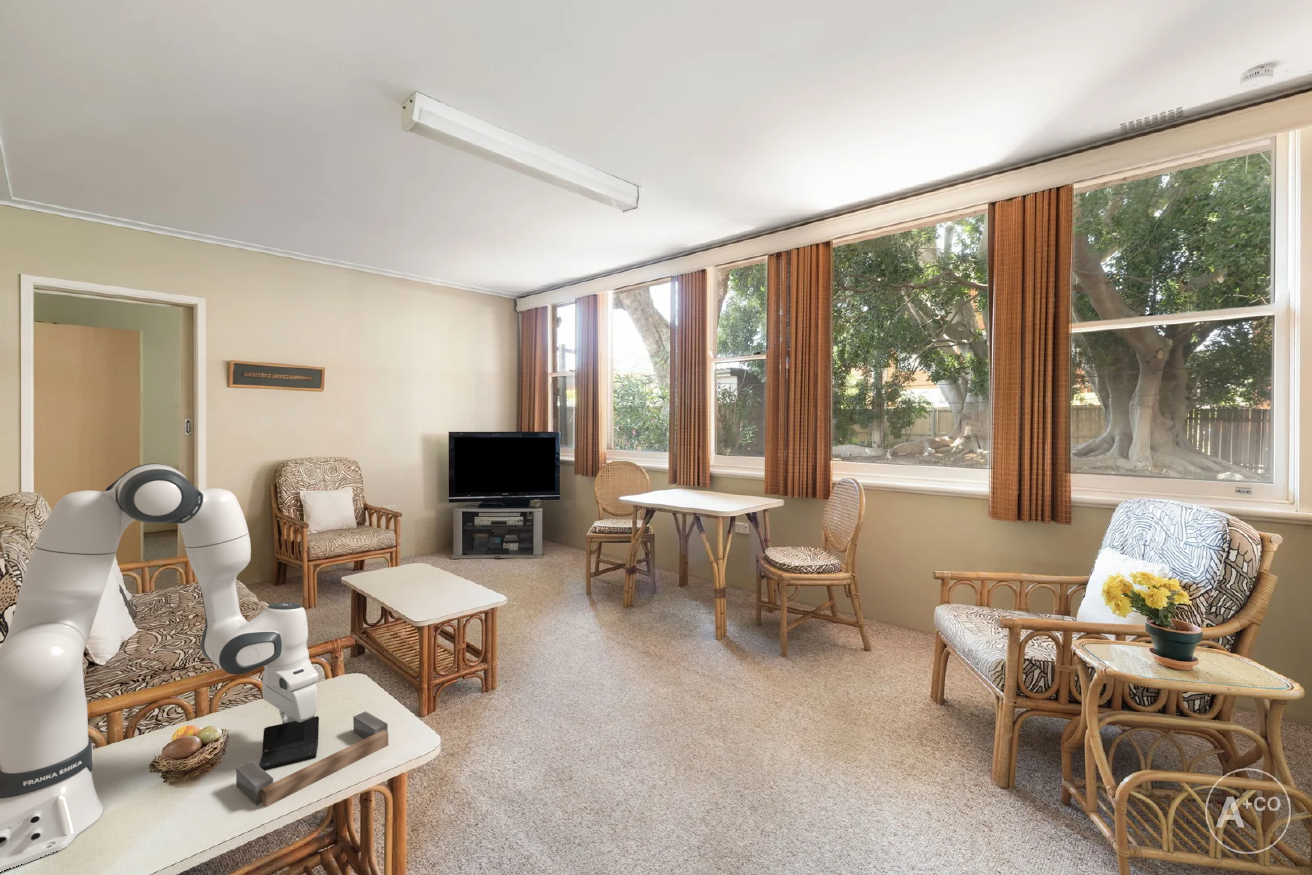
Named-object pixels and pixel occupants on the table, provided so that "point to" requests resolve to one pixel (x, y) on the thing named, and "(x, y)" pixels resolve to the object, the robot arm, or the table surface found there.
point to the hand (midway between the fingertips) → (289, 727)
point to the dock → (265, 791)
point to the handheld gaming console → (289, 743)
